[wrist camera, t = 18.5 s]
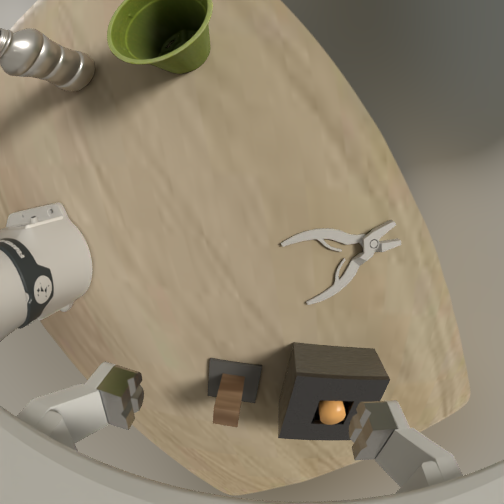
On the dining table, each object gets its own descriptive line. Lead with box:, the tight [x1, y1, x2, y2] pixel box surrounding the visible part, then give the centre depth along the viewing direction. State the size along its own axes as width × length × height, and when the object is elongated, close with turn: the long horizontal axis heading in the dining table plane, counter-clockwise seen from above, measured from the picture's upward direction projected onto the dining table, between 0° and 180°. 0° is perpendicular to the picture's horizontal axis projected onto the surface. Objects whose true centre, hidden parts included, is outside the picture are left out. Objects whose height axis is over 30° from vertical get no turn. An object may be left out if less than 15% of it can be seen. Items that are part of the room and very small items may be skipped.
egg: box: [318, 400, 346, 425], centre depth 37 cm, size 4×4×6 cm
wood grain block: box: [213, 373, 245, 427], centre depth 40 cm, size 4×4×8 cm
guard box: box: [278, 342, 390, 440], centre depth 39 cm, size 13×13×8 cm
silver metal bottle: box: [0, 28, 95, 91], centre depth 23 cm, size 6×7×20 cm
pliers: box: [281, 220, 401, 305], centre depth 37 cm, size 10×2×15 cm
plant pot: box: [107, 0, 213, 74], centre depth 26 cm, size 12×12×11 cm
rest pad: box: [208, 358, 262, 403], centre depth 44 cm, size 8×8×1 cm
